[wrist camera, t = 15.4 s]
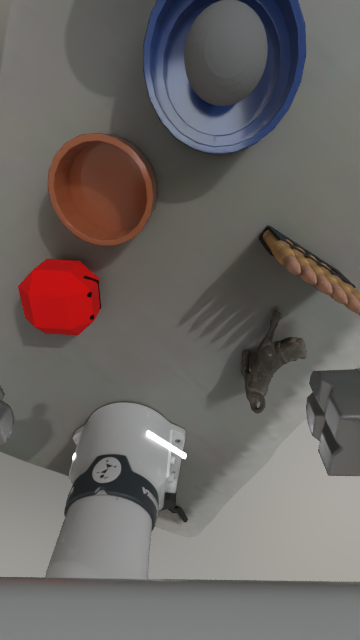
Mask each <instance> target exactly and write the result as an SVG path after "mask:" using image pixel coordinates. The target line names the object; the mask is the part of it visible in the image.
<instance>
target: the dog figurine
mask: <svg viewBox="0 0 360 640" xmlns="http://www.w3.org/2000/svg"><path fill="white" fill-rule="evenodd" d="M281 316H282V314H281V313H280V312H279V311H275V312H274V313H273V319H272V320H271V322H270V328H269V330H268V332H267V333H266V335H265V337H264V339H263V340H262V342H261V344H260V346H259V348H258V351H257V353H258V356H257V358H256V359H255V360H254V362H253V365H252V368H251V372H249V357H250V351H247V350H245V351H243V353H242V354H243V360H242V370H241V372H242V375H243V376H244V380H245V390H246V396H247V399H248V400H249V402H250V406H251V409H252V410H253V411H254V412H255V413H260V412H262V411H263V409H264V408H265V399H264V396H265V395H266V393H267V391H268V385H269V383H270V381H271V378H272V377H273V375H274V373H275V372H276V371H277V370H278V369H279V368H280V367H281V366H282V365H284V364H286V363H288V362H290V361H296V360H297V359H299V358H301V359H305V358H306V346H305V342H304V341H303V339H302V338H296V337H295V338H293V337H289V338H285V339H284V340H283V341H282V342H280V341H277V342H272V337H273V334H274V331H275V329H276V327H277V324H278V321H279V319H280V318H281ZM259 401H260V402H261V404H260V407H259V408H257V403H258V402H259Z"/></svg>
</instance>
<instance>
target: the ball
mask: <svg viewBox="0 0 360 640" xmlns="http://www.w3.org/2000/svg"><path fill="white" fill-rule="evenodd" d="M18 288H19V292H20V297H21V301H22V306H23V310H24V314H25V318H26V319H27V320H28V321H29V322H30V323H31V324H32V325H33V326H34V327H36V328H37V329H39V330H41V331H42V332H44V333H46V334H64V335H79V334H80V333H81V332H82V331H83V330H84V329H85V328H86V327H88V326H89V325H90V324H91V323H92V322H93V321H94V320H95V318H96V316H97V314H98V313H99V310H100V309H101V303H100V292H99V278H98V277H97V276H96V275H94V274H93V273H92V272H91V271H90V270H89V269H88V268H87V267H86V266H85V265H84V264H82V263H81V262H80V261H74V260H54V259H46V260H45V261H44V262H42V263H41V264H40V265H39V266H37V267H36V268H35V269H34V270H33V271H32V272H31V273H30V274H29V275H28V276H27V277H26V278H25V280H24V281H23V282H22V283H21V284H20V285H19V286H18Z"/></svg>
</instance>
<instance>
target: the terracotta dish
mask: <svg viewBox="0 0 360 640" xmlns="http://www.w3.org/2000/svg"><path fill="white" fill-rule="evenodd" d="M48 191H49V195H50V199H51V203H52V206H53V209H54V210H55V212H56V214H57V215H58V217H59V219H60V221H61V222H62V223H63V224H64V225H65V226H66V227H67V228H68V229H69V230H70V231H71V232H72V233H73V234H74V235H76V236H77V237H79V238H81V239H83V240H84V241H86V242H88V243H92V244H96V245H101V246H111V245H119V244H122V243H124V242H126V241H129V240H131V239H132V238H134V237H135V236H136V235H137V234H138V233H139V232H140V231H141V230H142V229H143V228H144V226H145V225H146V223H147V221H148V219H149V218H150V216H151V214H152V212H153V210H154V209H155V204H156V200H157V194H158V191H157V181H156V176H155V173H154V170H153V168H152V165H151V163H150V161H149V160H148V158H147V157H146V156H145V154H144V153H143V152H142V151H141V150H140V149H139V148H138V147H137V146H136V145H134V144H133V143H131V142H130V141H128V140H126V139H124V138H122V137H118V136H114V135H111V134H101V133H95V134H84V135H79V136H78V137H76V138H74V139H72V140H70V141H68V142H66V143H65V144H64V145H63V146H62V148H61V149H60V150H59V151H58V152H57V153H56V155H55V156H54V158H53V161H52V164H51V167H50V169H49V175H48Z"/></svg>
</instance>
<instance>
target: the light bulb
mask: <svg viewBox="0 0 360 640" xmlns="http://www.w3.org/2000/svg"><path fill="white" fill-rule="evenodd" d="M267 51H268V45H267V37H266V32H265V29H264V26H263V23H262V22H261V20H260V18H259V16H258V15H257V14H256V12H255V11H254V10H253V9H252V8H251V7H249V6H248V5H247V4H245V3H243V2H240V1H238V0H221V1H218V2H216V3H213V4H211V5H210V6H209V7H207V8H206V9H204V10H203V11H202V12H201V14H200V15H199V16H198V17H197V18H196V20H195V21H194V23H193V24H192V26H191V28H190V31H189V33H188V35H187V39H186V43H185V50H184V65H185V71H186V75H187V78H188V81H189V83H190V85H191V87H192V88H193V90H194V92H195V93H196V94H197V95H198V96H199V97H200V98H201V99H202V100H204V101H205V102H207V103H209V104H212V105H215V106H230V105H233V104H236V103H238V102H240V101H241V100H243V99H244V98H246V97H247V96H248V95H249V94H250V93H251V92H252V91H253V90H254V88H255V87H256V86H257V84H258V83H259V81H260V79H261V77H262V75H263V72H264V69H265V66H266V61H267Z"/></svg>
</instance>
